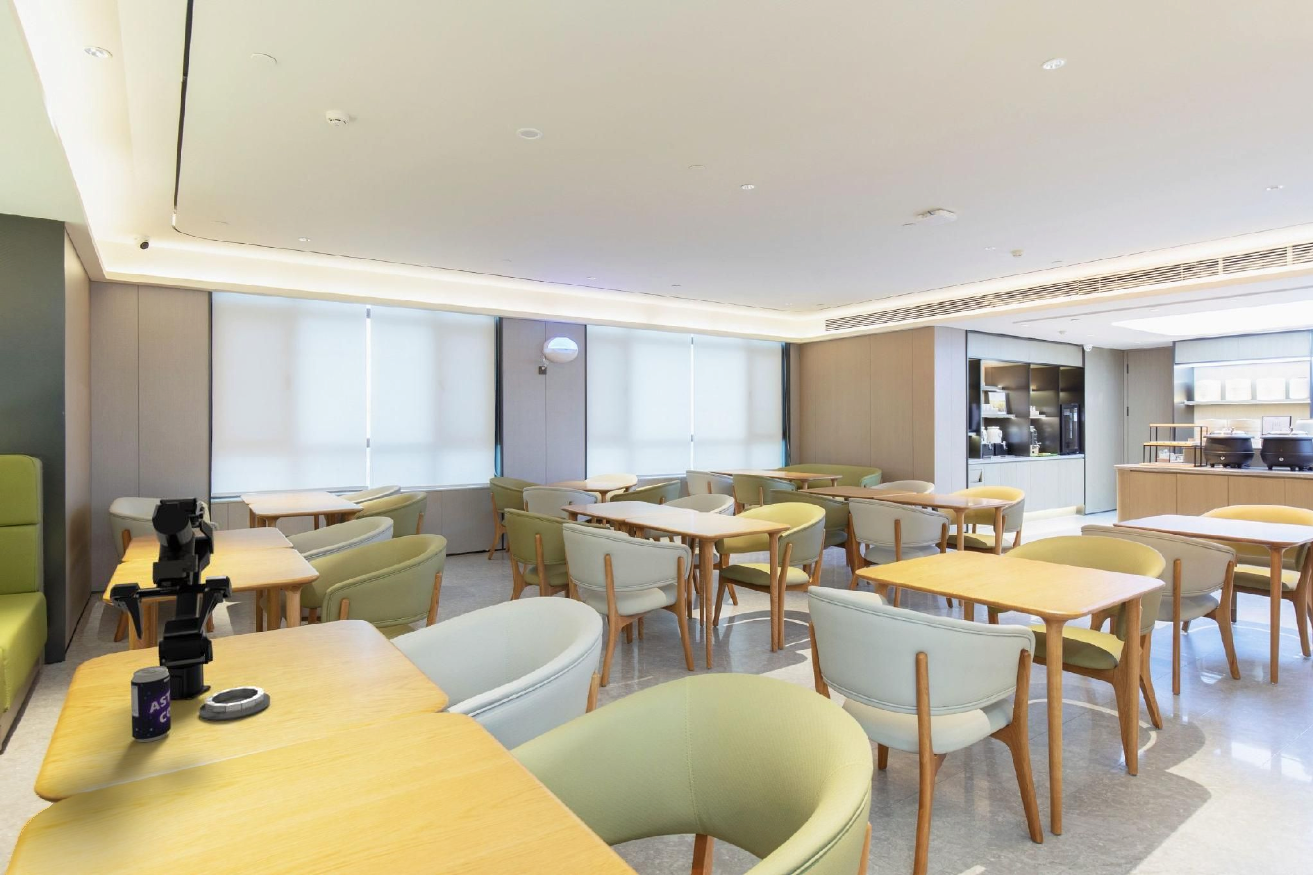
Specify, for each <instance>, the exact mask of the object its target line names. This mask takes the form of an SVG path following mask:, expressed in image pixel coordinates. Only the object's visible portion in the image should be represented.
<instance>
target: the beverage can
mask: <svg viewBox="0 0 1313 875" xmlns="http://www.w3.org/2000/svg"><path fill="white" fill-rule="evenodd" d="M130 695H131V696H130V697H131V699H130V700H131V704H130V705H131V736H132V738H133V739H135V740H137V742H140V743H149V742H151V743H152V742H154V741H158V740H160V739H162V738H164V737H165V736H166V735H167V733H169V732H170V731H171V729H172V725H171V724H172V722H171V720H172V719H171V717H172V716H171V713H172V712H171V699H170V675H169V673H168V669H167V668H166V667H164V666H160V665H155V666H148V667H144V668H140V669H137V670H136V671H134V672H133V676H132V678H131V680H130Z"/></svg>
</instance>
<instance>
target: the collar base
mask: <svg viewBox="0 0 1313 875" xmlns="http://www.w3.org/2000/svg"><path fill="white" fill-rule="evenodd" d="M270 704H271V696H270V695H269V694H267V693H265V689H264V688H262V687H258V686H239V687H232V688H227V689H224V690H221V691H217V692H215V693H213V694H211V695H209V696H207V698H206V699H205V703H204V704H202V705H201V706H200V707H199V710H198V711H199V718H200V719H201V720H204V721H209V722H226V721H234V720H239V719H243V718H247V717H251V716H252V715H255V714H258V713H260V712H262V711H264V710H266V709H267V708H268V707H269V706H270Z"/></svg>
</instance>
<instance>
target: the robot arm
mask: <svg viewBox="0 0 1313 875" xmlns="http://www.w3.org/2000/svg"><path fill="white" fill-rule="evenodd" d="M203 505H204V504H203V503H202V502H201V501H199V499H198V497H196V496H188V497H187V496H185V497H168V498H165V497H164V498H160V499H159V504H158V503H157V504H155V507H154V509H153V513H152V515H151V516H152V517H151V523H152V526H153V530H154V532H155V535H156V538H157V541H158V543H159V549H158V550H159V552H158V559H157V561H154V562H152V575H151V576H152V578H151V579H152V583H153V585H155V587H145V588H144V587H143V588H141V586H140V585H139V582H127V583H115V584H114V585H113V586H112V587H110V593H109V600H110V601H111V603H112V604H113V605H112V606H114V608H115V609H122V611H123V612H124V613H129V614H130V617H131V618H132V622H133V626H134V629H135V633H136V636H137V639H138V641H141V640H142V639H143V633H144V626H143V625H144V611H143V610H144V608H143V605H142V603H143V600H146V599H155V598H156V599H157V598H169V597H170V598H171V597H176V599H175V610H174V618H173V619H169V620H167V621H166V622H165V624H164V629H163V634H162V639H159V642H158V650H157V653H158V662H159V665H158V666H164V667H166V668H167V671H168V673H169V675H170V700H192V699H194V698H196V697H198V696H199V695H201V694H203V693H204V692H206V691H208V690H210V689H211V688H212V686H211V685H208V684H207V685H205V683H204V682H205V681H204V665H209V664H210V663H212V662H213V661H214V650H213V641H212V640H211V639H210V637H209V634H208V633H207V634H206V631H205V626H206V624H207V622H208V620H209V617H210V616H211V614H212V613H213V611H214V610H215V609H216V607H217V605H218V604H223V603H224V600H226V599H230V598H232V596H233V595H232V593H233V588H232V582H231V578H230V577H229V576H228V575H225V574H224V575H215V576H206V577H205V580H204V581H205V582H203V583H201V582H202V581H201V580H202V572H203V571H205V569H206V568H207V567H208V566H209V565H210V564H211V558H212V557H211V556H212V555H214V554H215V537H214V529H213V528H212V526H210V525H209V523H207V522H206V521H205V520H204V518H205V514H206V507H205V506H203ZM193 529H199V531H200V532H201V533H202V534H196V533H195V531H193ZM200 595H202V598H201V600H202V601H201V605H200ZM200 606H201V607H200ZM199 609H200V610H199ZM199 611H200V612H199Z"/></svg>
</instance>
